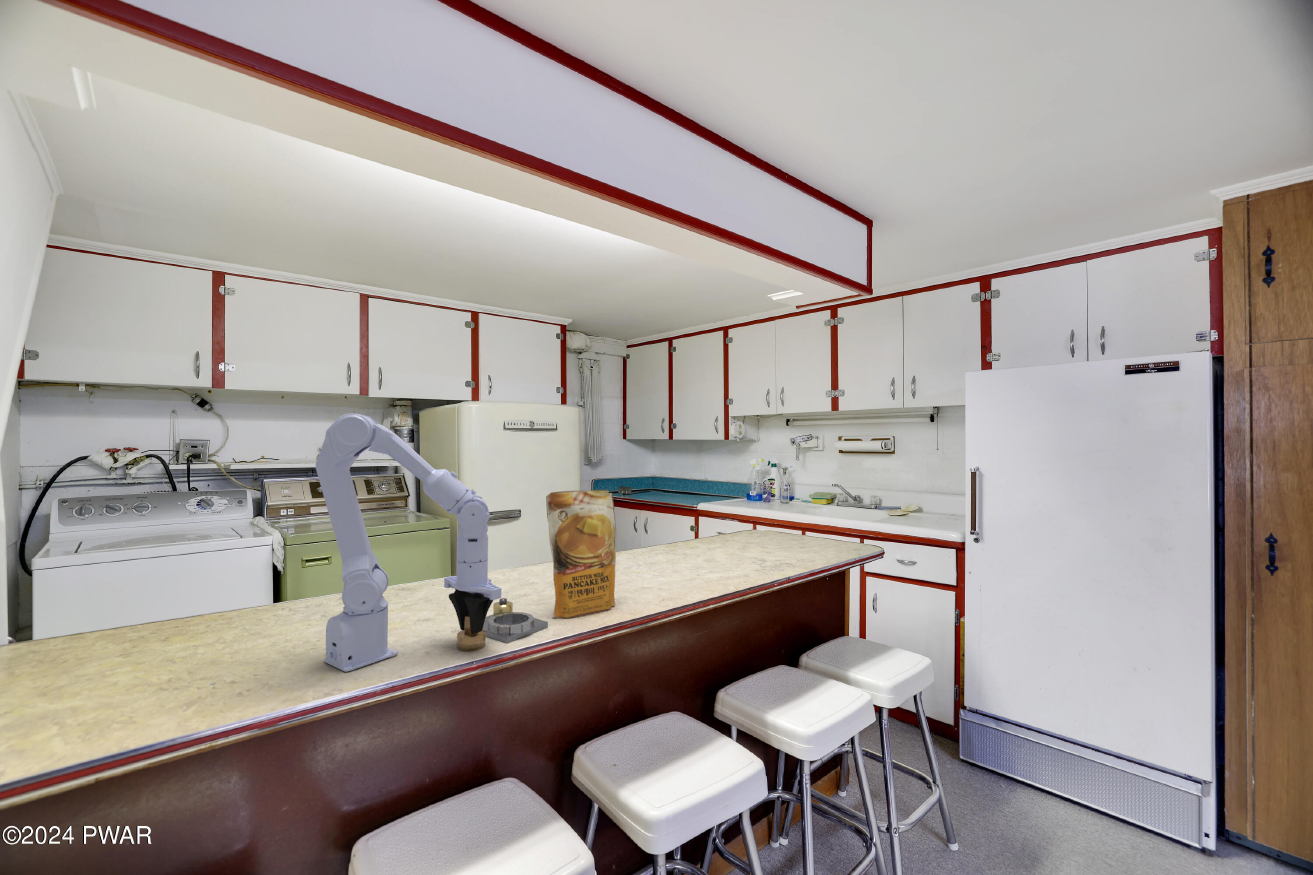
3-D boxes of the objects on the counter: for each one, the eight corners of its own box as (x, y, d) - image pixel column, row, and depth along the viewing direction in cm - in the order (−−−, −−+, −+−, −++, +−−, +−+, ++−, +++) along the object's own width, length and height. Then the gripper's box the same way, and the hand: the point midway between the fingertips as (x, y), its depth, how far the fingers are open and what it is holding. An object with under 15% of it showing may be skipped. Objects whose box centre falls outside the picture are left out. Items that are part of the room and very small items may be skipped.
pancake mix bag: (538, 614, 125) (539, 491, 125) (610, 600, 136) (611, 487, 136) (551, 622, 120) (552, 494, 120) (625, 607, 131) (626, 489, 131)
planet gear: (468, 653, 102) (468, 621, 102) (451, 647, 105) (451, 615, 105) (491, 644, 107) (491, 614, 107) (473, 639, 110) (474, 608, 110)
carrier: (509, 643, 107) (509, 618, 107) (464, 629, 115) (465, 605, 115) (549, 627, 117) (549, 604, 117) (506, 615, 124) (506, 593, 124)
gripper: (514, 561, 105) (513, 632, 105) (465, 551, 113) (464, 617, 113) (484, 568, 99) (483, 643, 99) (435, 557, 107) (434, 626, 108)
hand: (471, 630), depth 106 cm, fingers closed on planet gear, 3 cm apart
